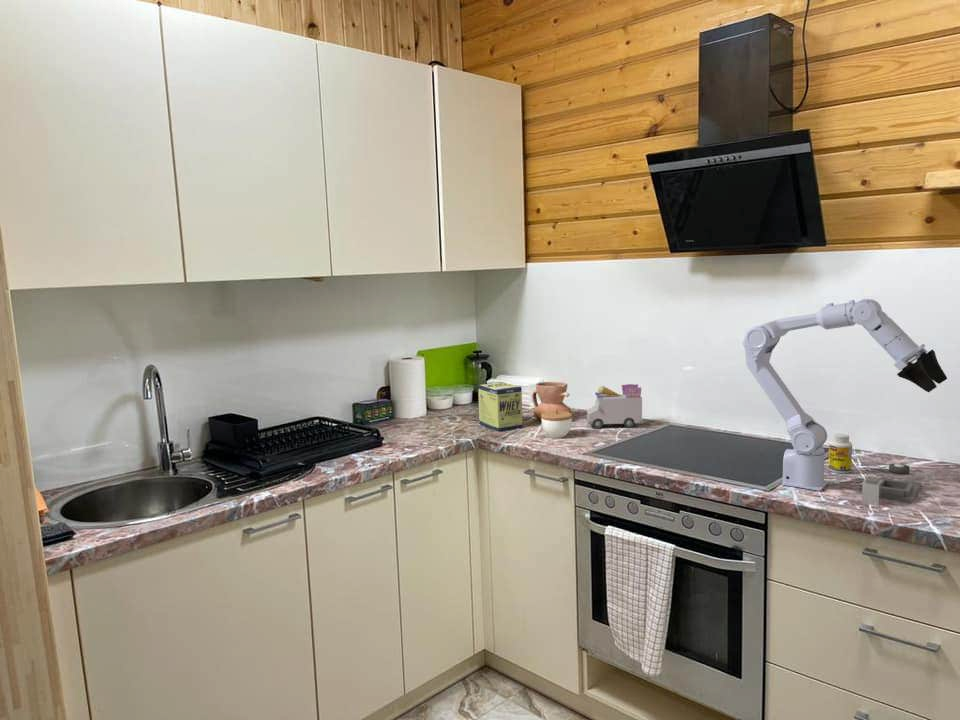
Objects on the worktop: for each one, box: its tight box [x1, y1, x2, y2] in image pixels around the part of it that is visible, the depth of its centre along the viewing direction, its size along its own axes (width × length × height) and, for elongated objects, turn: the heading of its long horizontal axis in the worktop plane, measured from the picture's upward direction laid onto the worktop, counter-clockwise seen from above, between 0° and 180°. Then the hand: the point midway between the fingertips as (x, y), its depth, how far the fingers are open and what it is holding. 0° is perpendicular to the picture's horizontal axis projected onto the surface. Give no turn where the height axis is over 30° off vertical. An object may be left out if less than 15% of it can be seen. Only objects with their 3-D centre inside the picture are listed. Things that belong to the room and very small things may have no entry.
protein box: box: [477, 381, 523, 433], centre depth 258 cm, size 10×16×16 cm
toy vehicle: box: [585, 383, 644, 430], centre depth 252 cm, size 9×20×15 cm, turn 88°
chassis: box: [880, 476, 923, 504], centre depth 173 cm, size 9×15×2 cm, turn 141°
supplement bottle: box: [828, 433, 853, 474], centre depth 190 cm, size 6×6×10 cm
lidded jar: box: [540, 409, 573, 439], centre depth 241 cm, size 11×11×9 cm
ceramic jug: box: [531, 381, 572, 421], centre depth 267 cm, size 18×14×14 cm
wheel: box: [888, 463, 911, 476], centre depth 175 cm, size 4×4×2 cm
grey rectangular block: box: [861, 476, 883, 506], centre depth 167 cm, size 4×4×6 cm
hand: (938, 385), depth 159 cm, fingers open, 7 cm apart
